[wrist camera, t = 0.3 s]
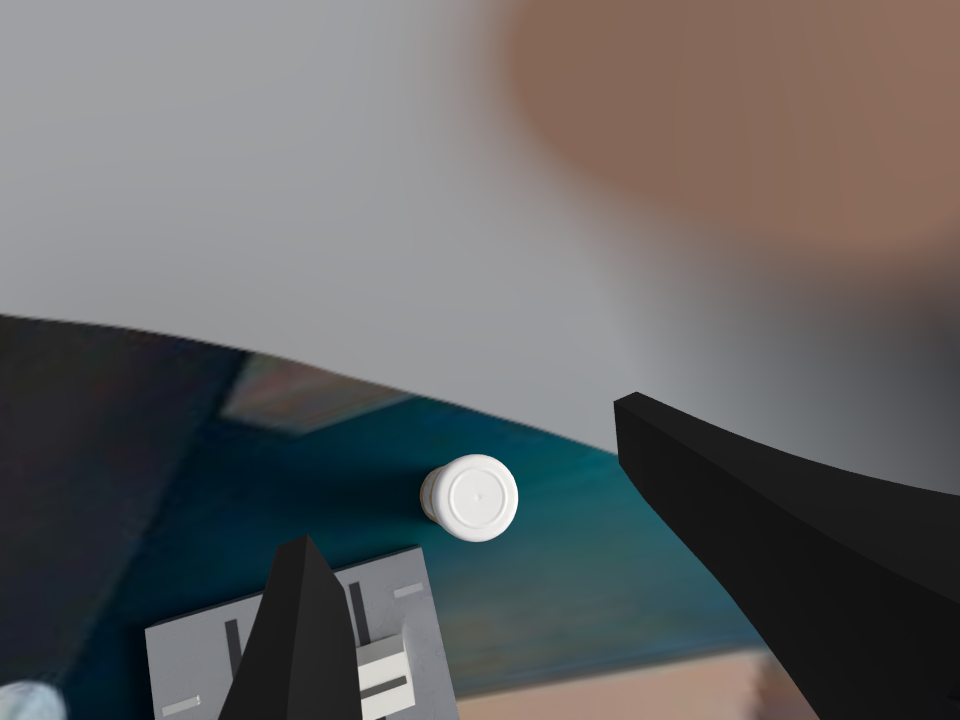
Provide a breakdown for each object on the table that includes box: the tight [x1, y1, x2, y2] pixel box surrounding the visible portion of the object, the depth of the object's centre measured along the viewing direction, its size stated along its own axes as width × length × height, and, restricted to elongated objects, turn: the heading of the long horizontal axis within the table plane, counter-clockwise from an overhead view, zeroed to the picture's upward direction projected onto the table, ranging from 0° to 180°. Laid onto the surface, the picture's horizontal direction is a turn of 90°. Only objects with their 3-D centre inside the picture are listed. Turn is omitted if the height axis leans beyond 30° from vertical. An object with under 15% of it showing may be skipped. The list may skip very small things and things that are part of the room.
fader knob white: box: [356, 633, 415, 720], centre depth 31 cm, size 3×5×4 cm, turn 105°
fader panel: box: [145, 544, 460, 720], centre depth 33 cm, size 15×18×2 cm
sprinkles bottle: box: [420, 454, 518, 542], centre depth 33 cm, size 5×5×14 cm
